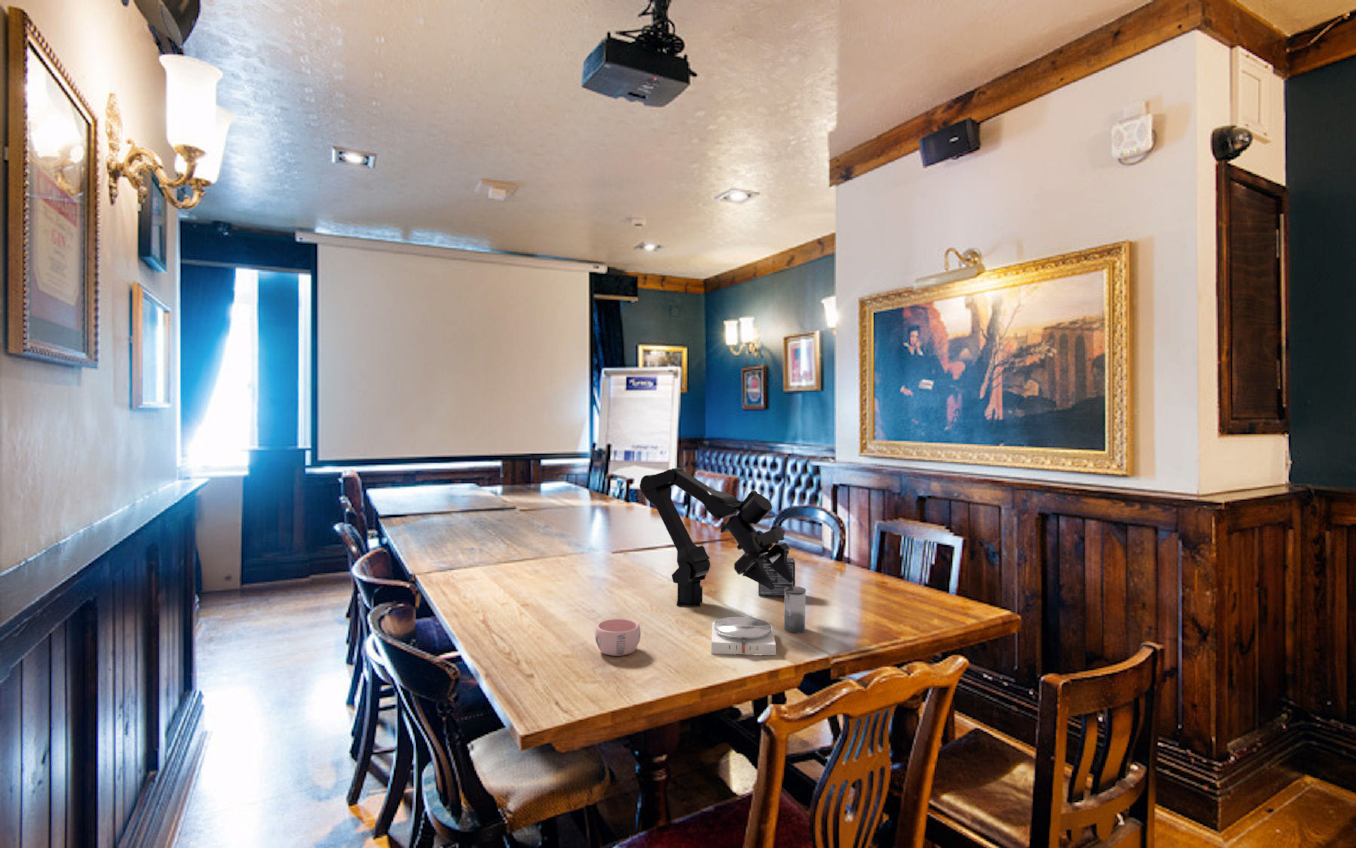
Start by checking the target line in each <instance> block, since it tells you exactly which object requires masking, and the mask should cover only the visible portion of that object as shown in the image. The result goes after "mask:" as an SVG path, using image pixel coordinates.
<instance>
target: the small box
mask: <svg viewBox="0 0 1356 848" xmlns="http://www.w3.org/2000/svg"><path fill="white" fill-rule="evenodd" d="M787 563H788V566H789V569H790V571H791V574H792V577H793V581H792V582H791V583H790V582H789V581H787V580H786V579H785V578H783V577H782V576H781V575H780V574H778V573H777V572H776V571H775V570H773V569H772V568H771V567H770V565H771V564H769V563H767V562H766V560H764V561H763V568H764V570H765V571H766V573H767V575H768V576H769V578H770V579H771V581H772V583H773V585H774V587H775V588H774V589H773V590H770V589H769V588H767V587H765V586H763V585H761V584H760V583H758V582H757V583H758V584H757V586H758V587H757V588H758V597H759V596H765V597H764V598H785V591H784V588H785V587H789V586H796V560H795V559H794V558H793V557H787Z"/></svg>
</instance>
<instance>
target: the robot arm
mask: <svg viewBox="0 0 1356 848" xmlns="http://www.w3.org/2000/svg"><path fill="white" fill-rule="evenodd" d="M673 486H676V487H677V488H679V489H681V490H682V491H684V492H686V493H687V494H688V495H690V496H692V497H693V498H694V499H696V500H698V501H699V502H700V503H701V504H702V505H703V507H705V510H706V511H707V512H708V513H709V514H710V515H711V516H712V517H713V518H715V519H717V520H719V519H720V520H721V519H725V518H728V520H726V521H722V522H721V527H720V533H721V534H724V533H728V532H729V533H730V534H731V536H732V537H733V538H734V540H735V542H736V543H737V544H738V545H737V546H736V548H737V550H738V551H741V550H742V551H743V554H742V555H741V557H739V558H737V560H736V561H735V562H734V564H733V570H735V572H736V573H737V575H739V576H740V575H742V577H746V578H748V579H750V580H753V582H754V581H755V582H757V583H760V584H761V585H763V586H765V587H767V588H769V589H770V590H773V589H774V588H775V587H774V585H773V583H772V581H771V579H770V578H769V576H768V575H767V573H766V571H765V570H764V568H763V561H764V560H766V562H767V563H769V564H771V565H770V567H771V568H772V569H773V570H775V571H776V572H777V573H778V574H780V575H781V576H782V577H783V578H785V579H786V580H787V581H789V582H790V583H791V582H792V581H793V577H792V574H791V571H790V569H789V566H788V563H787V558H788V555H789V553H790V552H789V551H790V549H791V548H790V546H789V545H788V543H786V542H779V541H784V540H785V534H786V530H784V529H783V527H782V526H780V524H775V525H774V526H771V527H770V530H768V531H765V532H763V531H762V530H756V529H755V527H754V526H753V525H758V524H759V523H760V522H761V521H762V520H763V519H764V518H765V517H766V516H767V515H768V514H769V513H771V511H772V510H773V505H772V503H771V502H770V500H769V499H768V498H766V497H765V496H763V495H762V494H760V493H758V492H757V491H756V490H753V491H752V490H751V491H750V492H749V493H748V495H747V496H746V498H744V499H743V500H738V498H737V497H736V496H734V495H732V494H730V493H727V492H726V491H725V492H724V491H720V490H716V489H714V488H711V487H710V486H708V485H707V484H705V483H704V482H702V481H700V479H697V478H695V477H694V476H693V475H691V474H689V473H688V472H686V471H685V470H684V469H683V468H681V467H676V468H669V469H666V470H664V471H661V472H660V473H656V474H647V475H644V476H642V477H641V480H640V483H639V489H640V491H641V493H642V494H643V496H644V498H645V499H646V500H647V501H648V502H650V503H651V504H652V505H653V506H655V508H656V510H657V512H658V514H659V516H660V518H661V520H662V523H663V524H664V527H665V530H666V531H667V533H668V534H669V537H670V539H671V541H672V543H673V545H674V547H675V549H676V553H677V554H676V558H677V559H676V562H677V566H678V568H677V569H676V570H675V571H674V572H673V573H672V574H671V578H672V582H673V584H677V596H676V597H677V599H676V606H677V607H701V604H702V603H703V597H704V596H703V595H704V594H703V591H704V590H703V589H704V588H703V587H704V586H703V585H701V583H702V582H701V581H703V580H706V577H707V574H709V571H710V568H711V562H710V560H709V559H710V558H711V557H710V556H709V555H708V554H707V551H706V548H705V546H704V545H696V543H694V542H693V540H692V538H691V536H690V534H689V532H688V530H687V528H686V526H685V524H684V522H683V520H682V518H681V516H680V514H679V512H678V510H677V508H676V505H675V504H674V502H673V500H672V487H673ZM777 542H778V543H777ZM775 543H776V544H775Z"/></svg>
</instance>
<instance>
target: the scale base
mask: <svg viewBox="0 0 1356 848" xmlns="http://www.w3.org/2000/svg"><path fill="white" fill-rule="evenodd" d="M715 622H716V621H712V626H711V627H712V629H711V642H710V643H711V648H710V649H711V651H710V653H711V654H717V655H718V654H719V655H736V654H762V655H764V654H765V655H776V652H777V651H776V649H777V648H776V647H777V644H776V639H775V635H774V631H773V627H772V623H769V624H770V625H771V633H770V634H768V635H767V636H764V637H760V638H753V639H745V653H742V639H740V638H732V637H727V636H724V635H721V634H719V633H718V632H716V631H715V629H714V624H715ZM762 655H761V656H762Z"/></svg>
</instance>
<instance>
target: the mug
mask: <svg viewBox="0 0 1356 848" xmlns="http://www.w3.org/2000/svg"><path fill="white" fill-rule="evenodd" d="M640 627H641V626H640V624H639V623H638V622H637V621H636V620H632V619H628V618H627V619H626V618H610V619H605V620H602V621H600V622H598V624H597V625H596V627H595V629H594V630H595V632H594V636H595V637H594V638H595V643H596V646H597V647H598V650H599V651H600V652H601V653H602V654H605V655H608V656H612V657H613V656H614V657H615V656H618V657H619V656H626V655H629V654H632V653H633V652H634V651H636V650H637V647H638V645H639V643H640V640H641V628H640Z"/></svg>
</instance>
